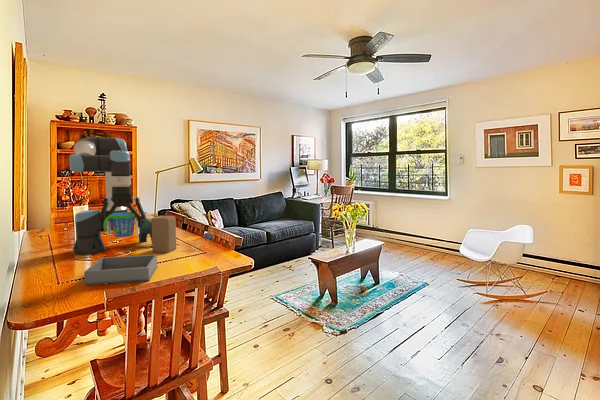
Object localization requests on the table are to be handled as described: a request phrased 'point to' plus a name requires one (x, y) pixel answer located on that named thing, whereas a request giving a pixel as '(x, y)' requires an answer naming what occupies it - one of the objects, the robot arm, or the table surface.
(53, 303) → the table surface
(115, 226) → the snack cup
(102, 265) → the grey tray
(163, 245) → the wooden block
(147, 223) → the green animal figurine
